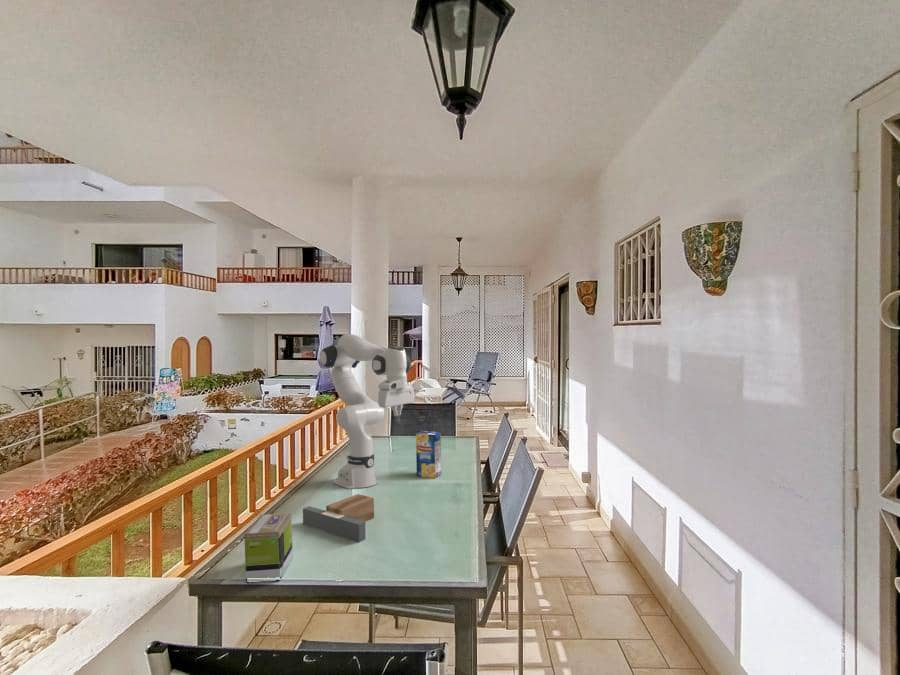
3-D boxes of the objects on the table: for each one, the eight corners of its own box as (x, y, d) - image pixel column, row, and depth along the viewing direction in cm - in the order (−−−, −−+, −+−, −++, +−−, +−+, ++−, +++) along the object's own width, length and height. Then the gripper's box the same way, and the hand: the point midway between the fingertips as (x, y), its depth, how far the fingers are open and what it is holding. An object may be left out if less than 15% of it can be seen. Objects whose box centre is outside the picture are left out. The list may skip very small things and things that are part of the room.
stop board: (302, 524, 175) (302, 508, 175) (309, 521, 178) (309, 505, 178) (359, 542, 158) (359, 524, 158) (365, 538, 161) (365, 521, 161)
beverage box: (435, 478, 231) (434, 434, 232) (416, 476, 236) (415, 433, 237) (441, 474, 237) (440, 432, 238) (423, 472, 242) (422, 430, 243)
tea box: (261, 559, 147) (260, 513, 147) (293, 557, 148) (292, 511, 148) (244, 584, 132) (243, 532, 132) (280, 582, 133) (279, 530, 133)
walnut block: (326, 527, 172) (326, 505, 173) (358, 513, 186) (357, 493, 186) (342, 532, 167) (342, 510, 167) (374, 518, 180) (373, 497, 180)
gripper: (406, 381, 210) (407, 411, 209) (375, 385, 193) (375, 418, 192) (417, 381, 206) (417, 412, 206) (386, 385, 189) (387, 419, 189)
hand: (397, 415), depth 199 cm, fingers closed
